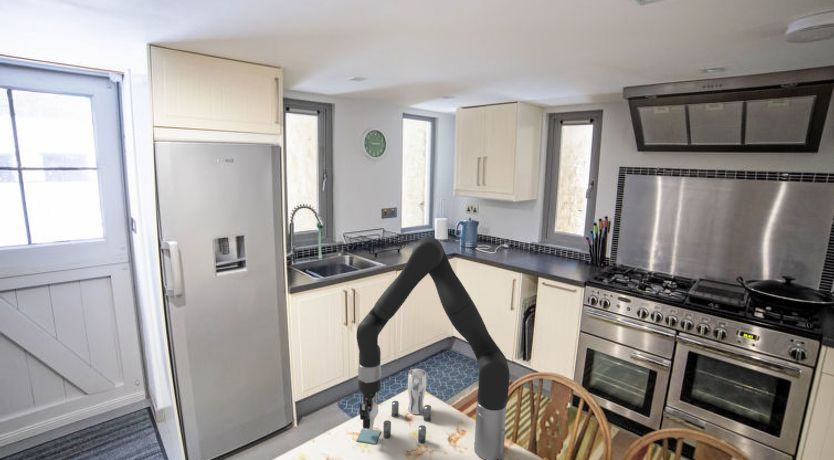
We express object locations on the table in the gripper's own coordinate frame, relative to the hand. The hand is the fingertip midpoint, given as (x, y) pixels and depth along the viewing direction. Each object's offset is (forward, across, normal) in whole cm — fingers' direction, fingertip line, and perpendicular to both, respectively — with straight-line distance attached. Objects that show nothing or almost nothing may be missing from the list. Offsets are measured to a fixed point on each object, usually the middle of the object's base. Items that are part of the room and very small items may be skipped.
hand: (369, 421), depth 136 cm
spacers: (+5, -8, +12) cm, 15 cm away
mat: (+5, 0, 0) cm, 5 cm away
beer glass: (+6, -18, +13) cm, 23 cm away
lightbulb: (+4, 0, 0) cm, 4 cm away
